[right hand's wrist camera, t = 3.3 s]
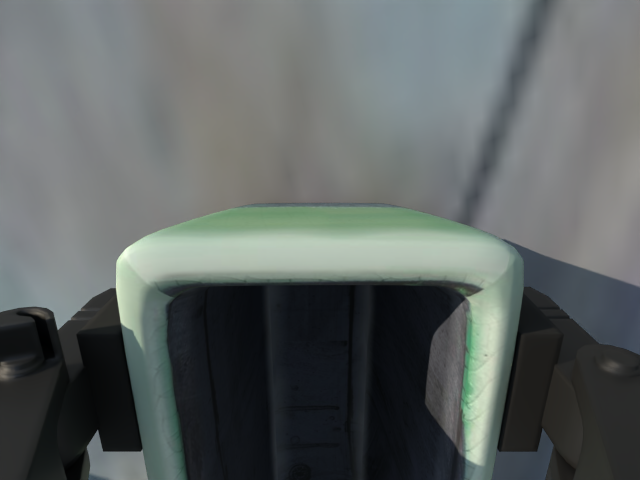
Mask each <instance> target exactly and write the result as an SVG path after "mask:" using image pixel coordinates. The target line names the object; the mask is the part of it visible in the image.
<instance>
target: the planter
mask: <svg viewBox="0 0 640 480" xmlns="http://www.w3.org/2000/svg"><path fill="white" fill-rule="evenodd" d="M523 290H524V261H523V259H522V257H521V256H520V254H519V253H518V252H517V250H516V249H515V248H514V247H513V246H511V245H509V244H508V243H506V242H505V241H503V240H501V239H500V238H498V237H496V236H495V235H492V234H489V233H487V232H484V231H482V230H479V229H476V228H473V227H470V226H467V225H464V224H461V223H457V222H454V221H451V220H448V219H445V218H441V217H438V216H434V215H430V214H427V213H423V212H419V211H415V210H412V209H408V208H403V207H399V206H394V205H389V204H376V203H268V204H251V205H245V206H240V207H236V208H232V209H228V210H225V211H221V212H217V213H213V214H210V215H206V216H203V217H200V218H196V219H193V220H190V221H187V222H184V223H181V224H178V225H174V226H171V227H168V228H165V229H162V230H160V231H157V232H155V233H152V234H150V235H147V236H145V237H144V238H142V239H140V240H139V241H137V242H136V243H134V244H132V245H131V246H129V247H128V248H126V249H125V251H124V252H123V253H122V254H121V255H120V257H119V258H118V260H117V270H116V292H117V299H118V306H119V313H120V320H121V327H122V334H123V341H124V348H125V354H126V360H127V365H128V371H129V376H130V382H131V388H132V393H133V399H134V404H135V410H136V415H137V421H138V427H139V432H140V438H141V443H142V449H143V454H144V460H145V465H146V470H147V476H148V480H492V474H493V469H494V464H495V458H496V453H497V447H498V441H499V436H500V430H501V425H502V419H503V413H504V408H505V402H506V397H507V391H508V385H509V380H510V374H511V368H512V363H513V357H514V352H515V345H516V338H517V331H518V324H519V317H520V311H521V304H522V297H523Z"/></svg>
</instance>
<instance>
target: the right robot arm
mask: <svg viewBox="0 0 640 480" xmlns="http://www.w3.org/2000/svg"><path fill="white" fill-rule="evenodd" d="M542 428H543V429H544V430H545V432H546V433H547V435H548V437H549V438H550V440H551V441H552V443H553V444H554V447H553V451H552V455H551V459H550V463H549V467H548V471H547V475H546V479H545V480H640V355H638V354H636V353H633V352H631V351H629V350H626V349H623V348H619V347H615V346H611V345H603V344H599V343H597V342H596V341H595V340H594V339H593V338H592V337H591V336H590V335H589V334H588V333H587V332H586V331H585V330H583V329H582V328H581V327H580V326H579V325H578V324H577V323H576V322H575V321H574V320H573V319H570V318H569V316H568V315H567V314H566V313H565V312H564V311H563V310H562V309H560V307H559V306H558V305H557V304H556V303H554V302H553V301H552V300H551V299H550V298H549V297H548V296H546V295H544V294H542V293H540V292H539V291H537V290H535V289H533V288H531V287H524V290H523V297H522V304H521V311H520V317H519V324H518V331H517V338H516V345H515V352H514V357H513V363H512V368H511V374H510V380H509V385H508V391H507V397H506V402H505V408H504V413H503V419H502V425H501V430H500V436H499V441H498V447H497V448H498V450H499V451H537V450H538V445H539V441H540V437H541V432H542ZM97 430H98V431H99V435H100V440H101V444H102V448H103V451H141V450H142V443H141V438H140V432H139V427H138V421H137V415H136V410H135V404H134V399H133V393H132V388H131V382H130V376H129V371H128V365H127V360H126V354H125V348H124V341H123V334H122V327H121V320H120V313H119V306H118V299H117V292H116V288H110V289H109V290H107V291H105V292H103V293H101V294H99V295H97V296H95V297H93V298H92V299H91V300H90V301H89V302H88V303H87V304H86V305H85V306H83V307H82V308H81V311H78V312H77V313H76V314H75V315H74V316H73V317H72V318H71V320H69V321H67V322H66V323H65V324H64V325H63V326H62V327H61V328H60V329H59V330H57V326H56V322H55V318H54V314H53V312H52V311H50V310H49V309H47V308H41V307H24V308H17V309H12V310H8V311H3V312H0V480H88V477H89V470H90V461H89V455H88V451H87V445H88V444H89V442H90V441H91V439H92V438H93V436H94V435H95V433H96V431H97Z"/></svg>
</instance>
